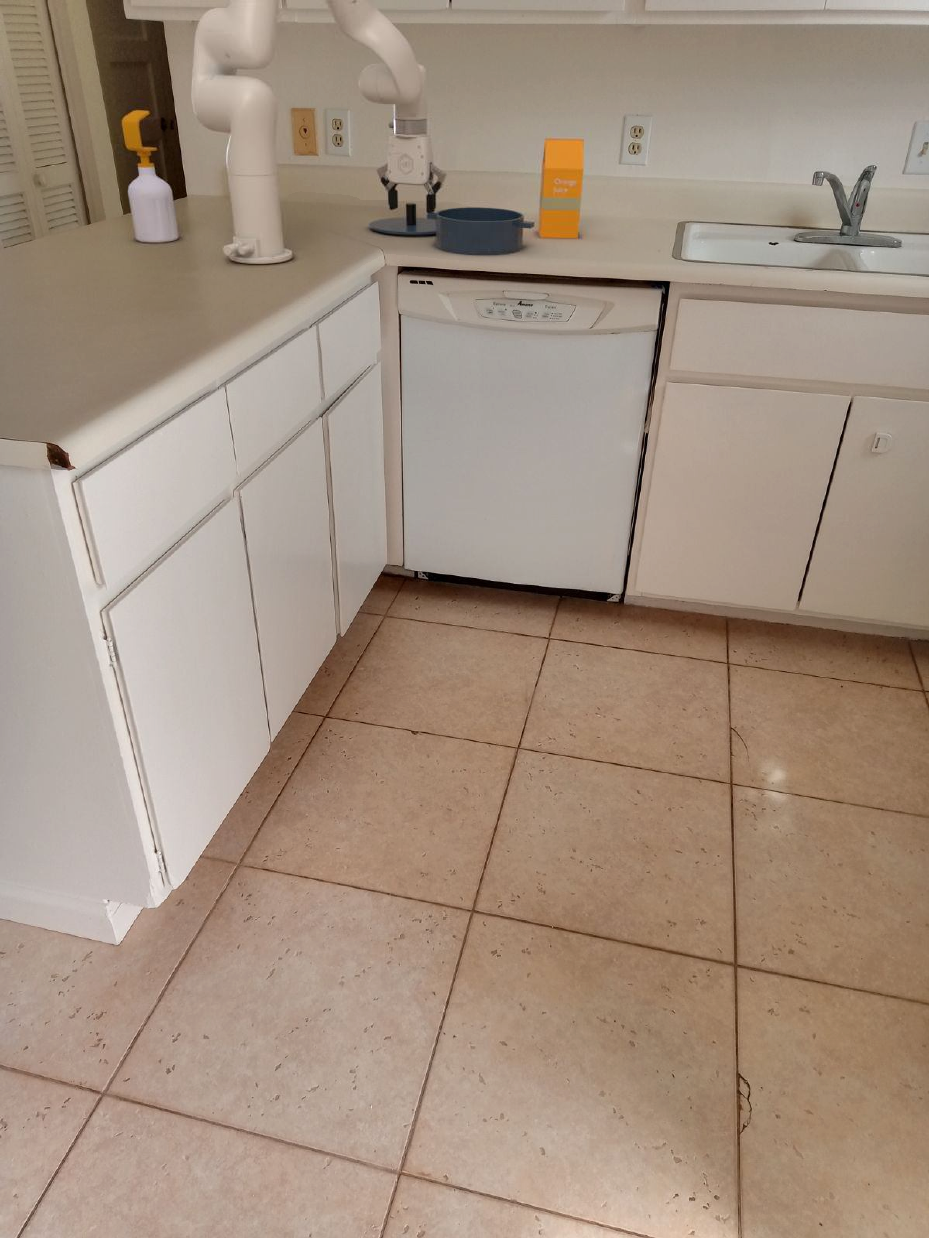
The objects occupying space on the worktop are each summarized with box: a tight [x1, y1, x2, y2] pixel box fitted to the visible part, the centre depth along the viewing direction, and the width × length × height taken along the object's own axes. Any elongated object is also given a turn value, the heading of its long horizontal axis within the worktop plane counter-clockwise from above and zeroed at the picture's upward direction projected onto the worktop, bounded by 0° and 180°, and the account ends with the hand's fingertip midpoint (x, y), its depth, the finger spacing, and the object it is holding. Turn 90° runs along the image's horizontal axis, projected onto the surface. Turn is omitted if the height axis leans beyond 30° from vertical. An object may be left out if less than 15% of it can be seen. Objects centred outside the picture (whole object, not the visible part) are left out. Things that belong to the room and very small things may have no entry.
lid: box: [368, 202, 436, 237], centre depth 210 cm, size 20×20×6 cm
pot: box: [426, 206, 535, 256], centre depth 194 cm, size 19×24×6 cm
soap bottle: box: [121, 109, 179, 244], centre depth 188 cm, size 9×9×25 cm
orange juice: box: [537, 138, 584, 239], centre depth 204 cm, size 8×9×20 cm
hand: (412, 210), depth 210 cm, fingers open, 9 cm apart
